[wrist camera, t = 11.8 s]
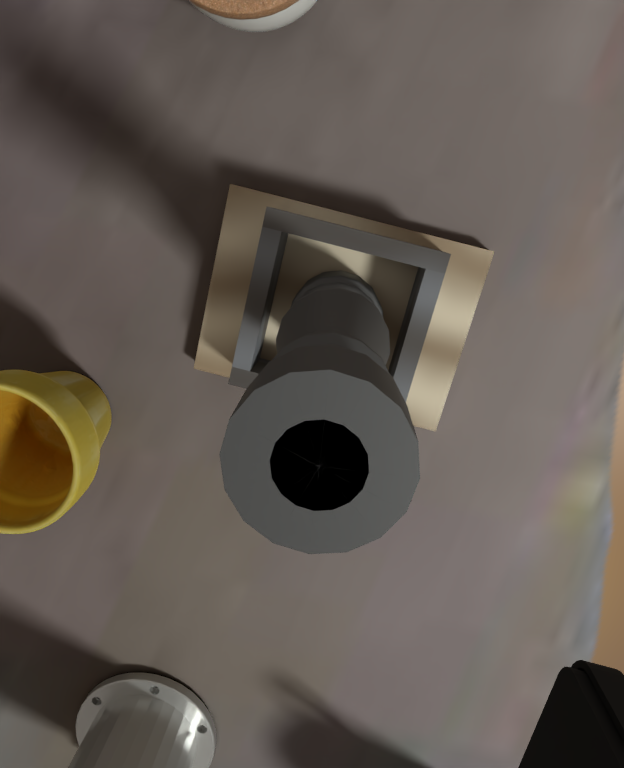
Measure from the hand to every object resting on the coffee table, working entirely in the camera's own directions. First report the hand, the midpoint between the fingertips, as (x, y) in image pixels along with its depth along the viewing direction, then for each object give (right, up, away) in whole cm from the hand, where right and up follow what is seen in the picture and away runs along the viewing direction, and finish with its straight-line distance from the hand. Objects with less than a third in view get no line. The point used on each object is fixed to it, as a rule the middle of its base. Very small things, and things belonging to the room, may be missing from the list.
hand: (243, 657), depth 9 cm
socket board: (+3, +9, +33) cm, 35 cm away
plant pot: (-18, +2, +37) cm, 41 cm away
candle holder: (+3, +9, +32) cm, 33 cm away
